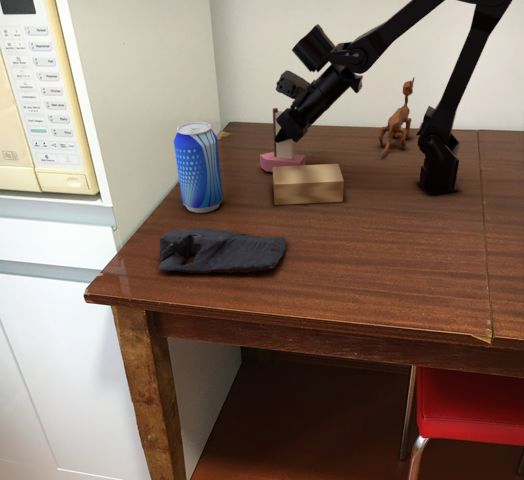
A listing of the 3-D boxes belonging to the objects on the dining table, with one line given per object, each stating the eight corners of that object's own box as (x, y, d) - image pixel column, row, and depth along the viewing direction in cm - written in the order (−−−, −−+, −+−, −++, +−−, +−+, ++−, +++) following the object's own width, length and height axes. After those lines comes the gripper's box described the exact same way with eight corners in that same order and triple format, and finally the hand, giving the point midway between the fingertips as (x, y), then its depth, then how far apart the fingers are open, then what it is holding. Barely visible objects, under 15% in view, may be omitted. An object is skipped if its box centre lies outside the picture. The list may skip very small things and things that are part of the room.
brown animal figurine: (395, 161, 137) (401, 99, 129) (368, 157, 140) (372, 96, 131) (417, 135, 149) (424, 77, 141) (391, 132, 152) (397, 75, 143)
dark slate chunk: (275, 284, 99) (274, 260, 96) (150, 274, 103) (146, 250, 100) (291, 240, 110) (291, 216, 107) (179, 232, 115) (176, 209, 112)
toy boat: (305, 167, 135) (305, 107, 127) (299, 174, 132) (299, 113, 124) (263, 163, 138) (261, 104, 130) (257, 170, 135) (253, 110, 127)
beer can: (174, 207, 124) (162, 129, 114) (204, 193, 128) (195, 117, 118) (201, 218, 119) (192, 138, 109) (231, 203, 124) (225, 125, 114)
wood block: (337, 183, 129) (338, 163, 126) (342, 201, 122) (343, 180, 119) (273, 186, 129) (272, 166, 126) (274, 205, 122) (273, 184, 119)
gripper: (313, 47, 126) (266, 98, 136) (284, 70, 112) (235, 125, 123) (347, 88, 128) (299, 135, 139) (324, 116, 115) (272, 166, 125)
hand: (277, 139), depth 131 cm, fingers closed on toy boat
